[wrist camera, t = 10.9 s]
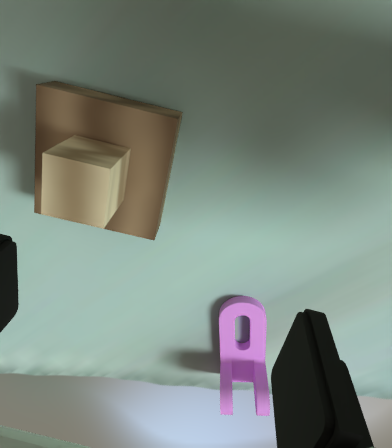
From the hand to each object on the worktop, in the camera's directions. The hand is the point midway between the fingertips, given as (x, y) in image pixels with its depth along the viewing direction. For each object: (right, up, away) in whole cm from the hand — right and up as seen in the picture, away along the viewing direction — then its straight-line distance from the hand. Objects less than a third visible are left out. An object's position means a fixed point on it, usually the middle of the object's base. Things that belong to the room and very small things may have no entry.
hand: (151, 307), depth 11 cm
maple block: (-7, +8, +20) cm, 23 cm away
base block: (-7, +9, +24) cm, 27 cm away
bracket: (+7, -11, +33) cm, 36 cm away
